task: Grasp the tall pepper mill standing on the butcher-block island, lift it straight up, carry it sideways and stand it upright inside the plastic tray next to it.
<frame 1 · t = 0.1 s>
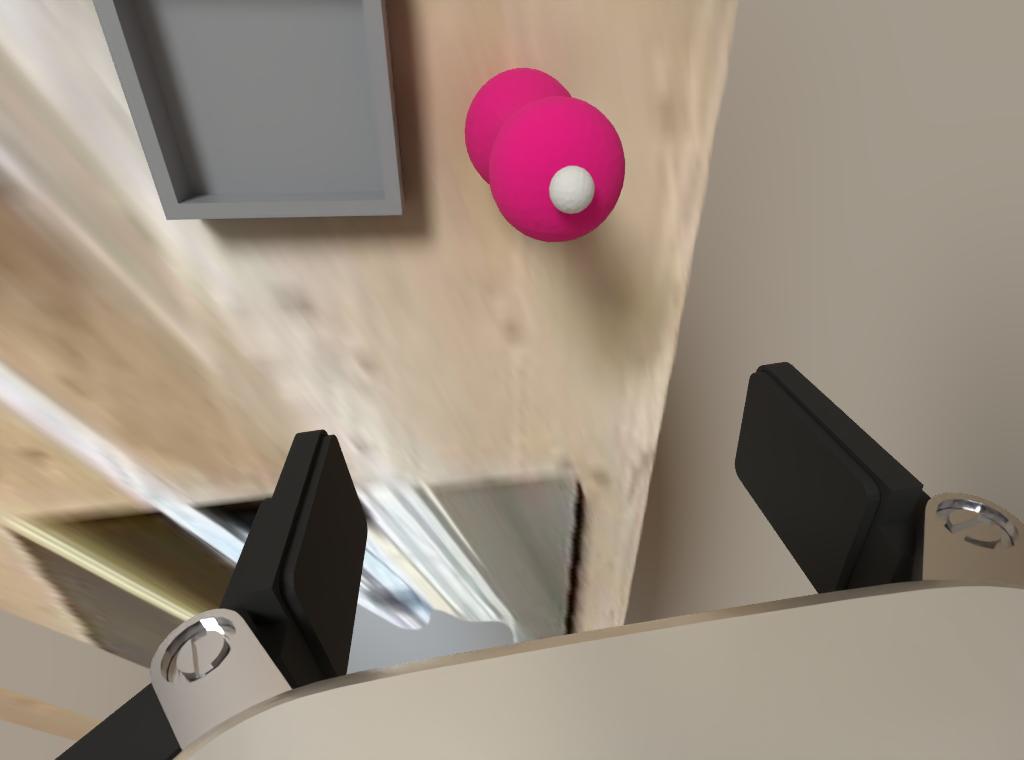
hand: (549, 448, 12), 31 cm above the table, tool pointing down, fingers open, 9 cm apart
pepper mill: (514, 125, 37), on the table
tray: (274, 83, 34), on the table
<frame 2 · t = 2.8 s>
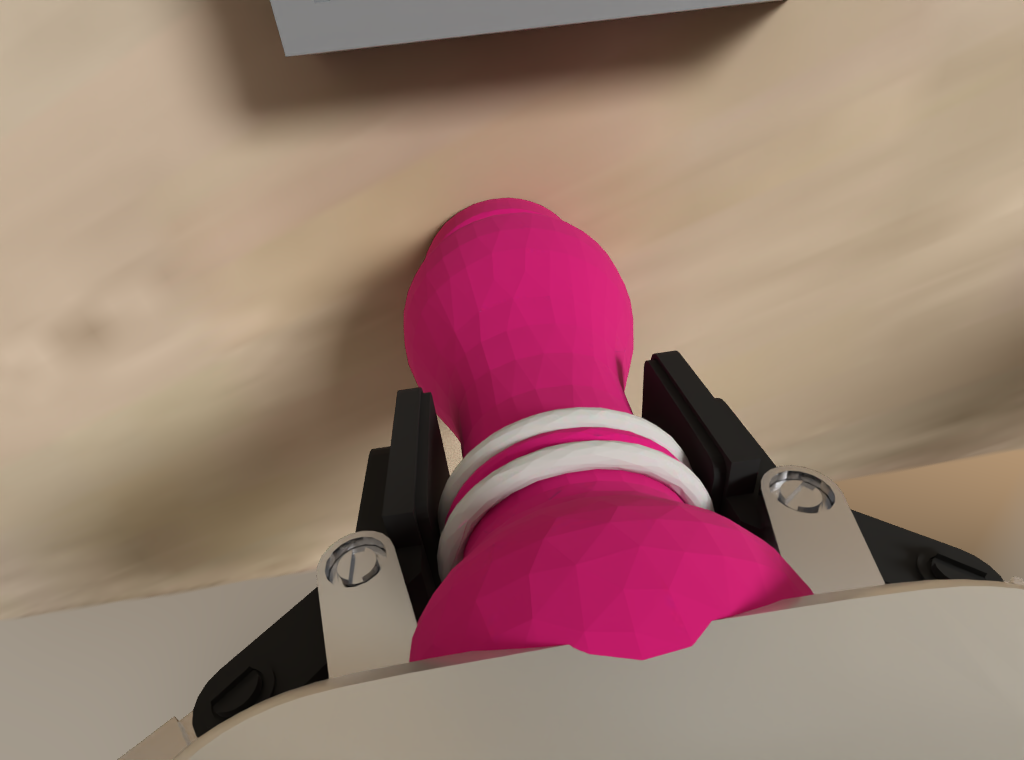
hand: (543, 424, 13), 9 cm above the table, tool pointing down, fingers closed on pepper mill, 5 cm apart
pepper mill: (503, 277, 21), on the table, touching gripper
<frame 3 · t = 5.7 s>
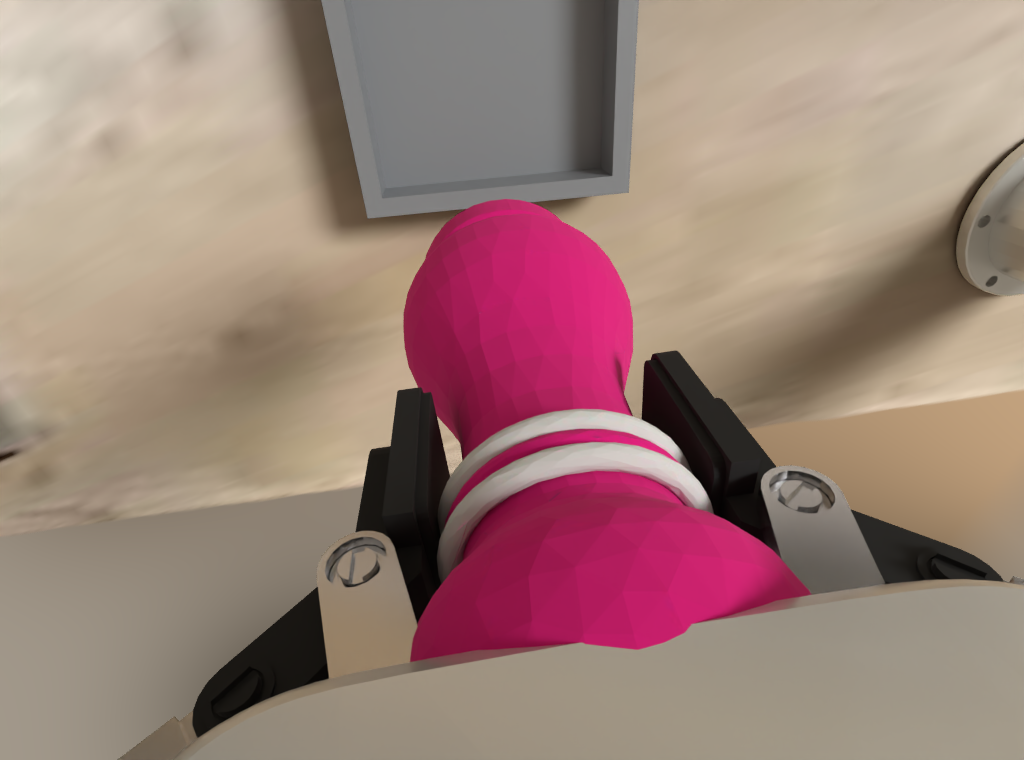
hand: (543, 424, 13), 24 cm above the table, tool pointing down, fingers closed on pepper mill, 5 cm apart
pepper mill: (503, 277, 21), point 14 cm above the table, touching gripper
tray: (483, 50, 29), on the table
when the fingers open (12 cm above the table, at t = 9.0 s): pepper mill drops 1 cm, resting on tray.
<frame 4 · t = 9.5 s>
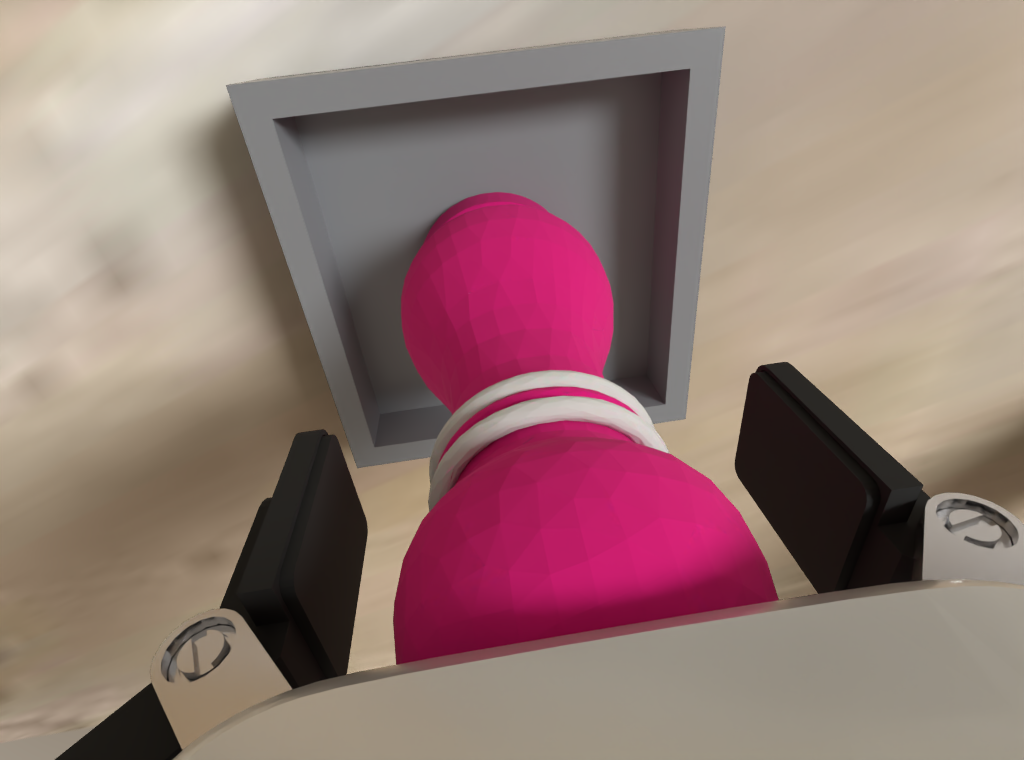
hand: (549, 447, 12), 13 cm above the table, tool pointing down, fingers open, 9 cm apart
pepper mill: (495, 267, 22), point 1 cm above the table, touching tray
tray: (498, 257, 23), on the table
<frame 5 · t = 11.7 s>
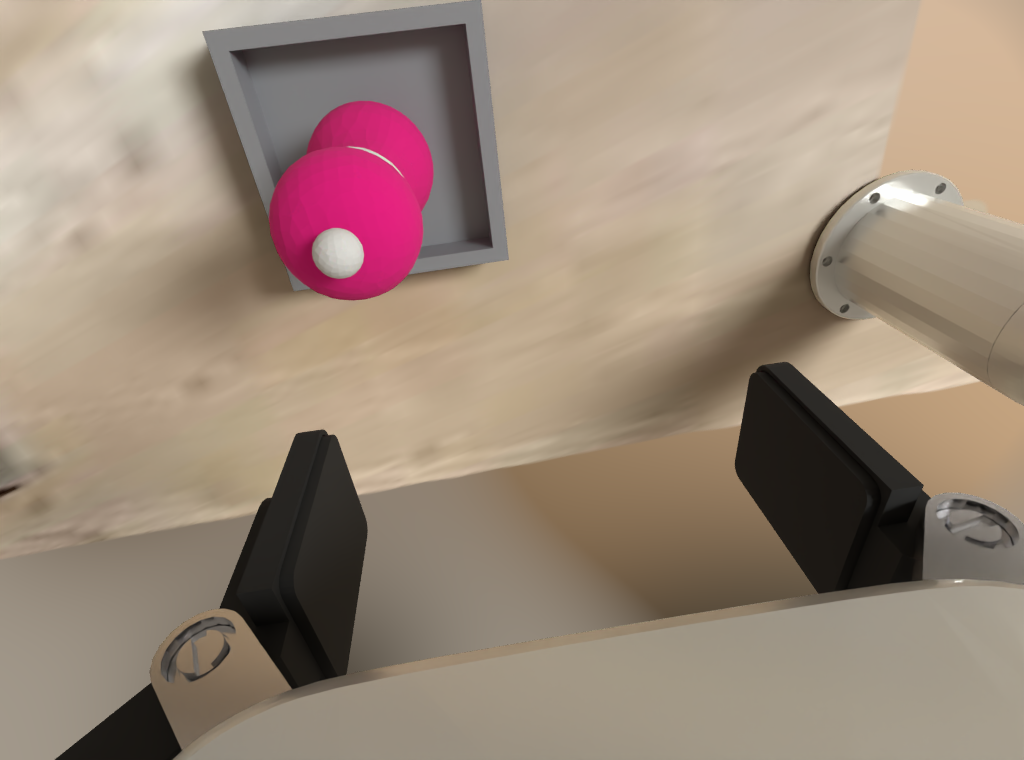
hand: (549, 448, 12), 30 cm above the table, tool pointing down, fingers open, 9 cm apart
pepper mill: (377, 155, 35), point 1 cm above the table, touching tray
tray: (380, 151, 36), on the table
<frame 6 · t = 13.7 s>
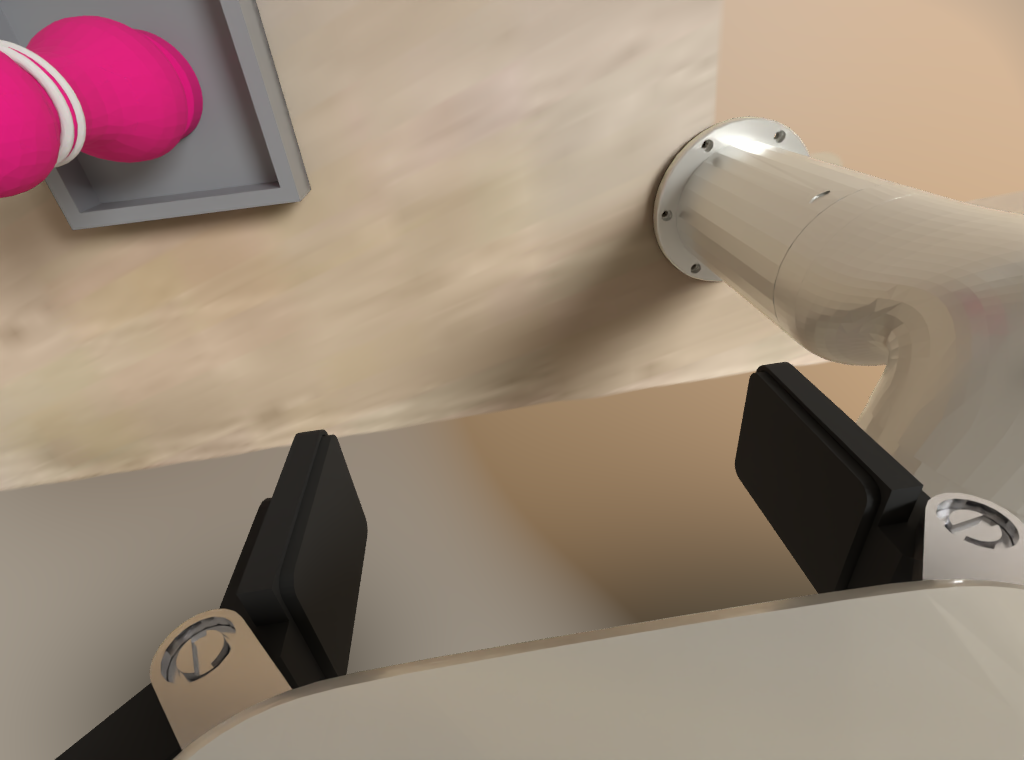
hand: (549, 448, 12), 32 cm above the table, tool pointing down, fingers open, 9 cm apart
pepper mill: (151, 87, 34), point 1 cm above the table, touching tray
tray: (159, 84, 34), on the table
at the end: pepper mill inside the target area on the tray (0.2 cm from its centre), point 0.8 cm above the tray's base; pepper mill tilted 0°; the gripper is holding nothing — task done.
